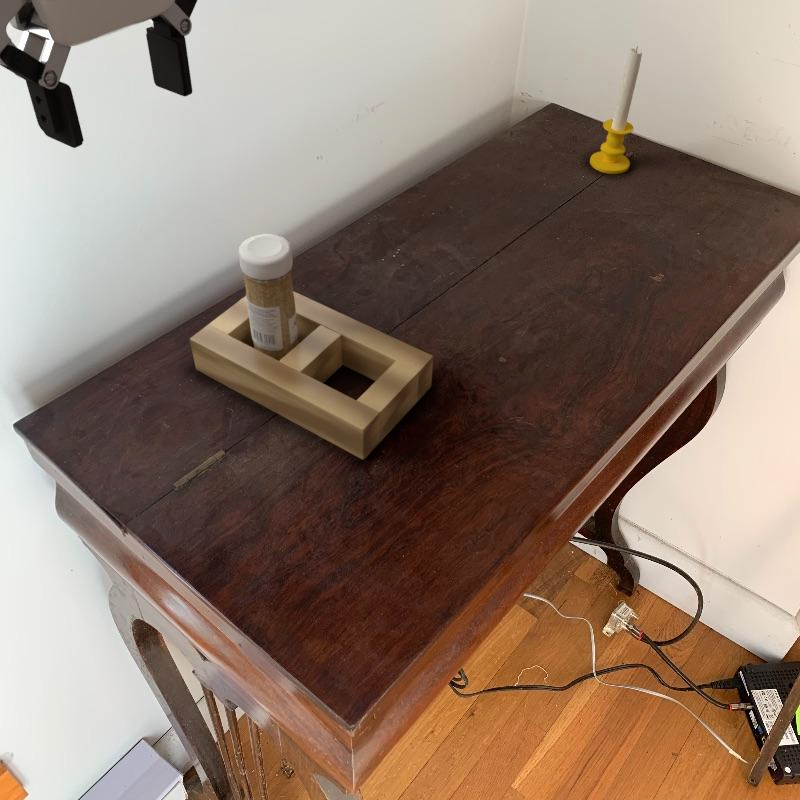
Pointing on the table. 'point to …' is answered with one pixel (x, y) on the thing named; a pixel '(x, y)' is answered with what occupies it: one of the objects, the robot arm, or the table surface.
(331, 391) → the holder
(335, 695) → the table surface
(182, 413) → the table surface
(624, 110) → the candle
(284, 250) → the sprinkles bottle
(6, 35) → the robot arm
